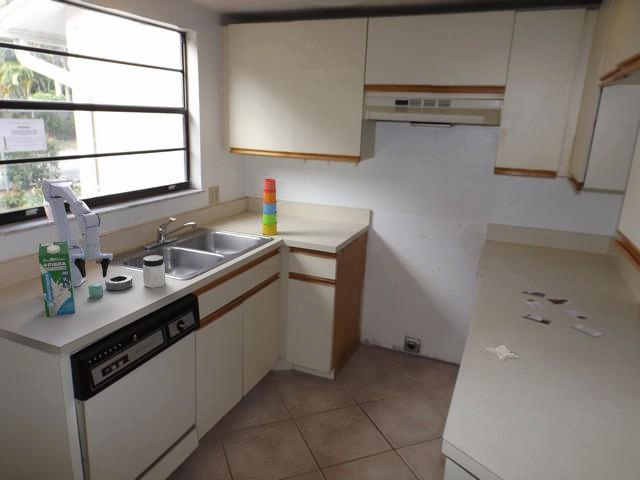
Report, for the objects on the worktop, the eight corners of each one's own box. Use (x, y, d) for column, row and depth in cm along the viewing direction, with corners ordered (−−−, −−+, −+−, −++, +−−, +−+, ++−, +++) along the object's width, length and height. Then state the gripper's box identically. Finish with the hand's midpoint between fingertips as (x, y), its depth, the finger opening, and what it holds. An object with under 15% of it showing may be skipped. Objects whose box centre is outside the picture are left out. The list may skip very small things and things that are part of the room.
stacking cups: (281, 233, 283) (282, 179, 274) (269, 236, 276) (270, 180, 266) (269, 230, 290) (270, 177, 280) (258, 233, 282) (258, 178, 273)
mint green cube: (87, 298, 175) (86, 287, 174) (91, 293, 180) (90, 283, 179) (100, 298, 176) (99, 287, 175) (104, 293, 180) (104, 283, 179)
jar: (146, 289, 186) (144, 262, 183) (141, 283, 193) (140, 256, 190) (168, 285, 191) (166, 259, 188) (163, 279, 198) (161, 254, 195)
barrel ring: (102, 291, 183) (101, 283, 182) (110, 282, 192) (109, 274, 191) (128, 290, 184) (128, 283, 183) (135, 282, 194) (134, 274, 193)
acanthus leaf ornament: (485, 352, 148) (486, 346, 148) (500, 348, 151) (501, 343, 151) (502, 363, 142) (503, 357, 141) (518, 359, 145) (519, 353, 144)
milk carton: (46, 316, 158) (37, 249, 152) (47, 307, 166) (39, 242, 159) (75, 312, 162) (67, 247, 156) (75, 303, 170) (68, 240, 163)
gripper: (66, 246, 167) (70, 280, 171) (107, 246, 169) (110, 280, 173) (74, 241, 174) (77, 274, 177) (113, 241, 176) (116, 274, 180)
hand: (94, 276), depth 176 cm, fingers open, 7 cm apart
